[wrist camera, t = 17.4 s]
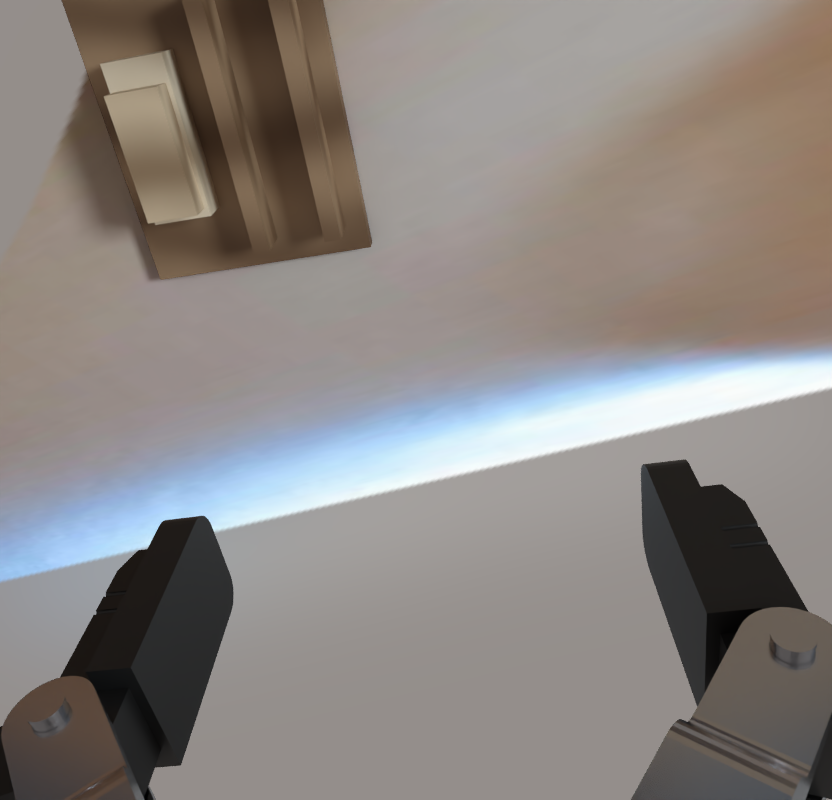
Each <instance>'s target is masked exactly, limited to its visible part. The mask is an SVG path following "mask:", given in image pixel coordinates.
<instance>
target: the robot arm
mask: <svg viewBox="0 0 832 800" xmlns="http://www.w3.org/2000/svg"><path fill="white" fill-rule="evenodd" d="M641 492H642V525H643V526H642V527H643V542H644V548H645V554H646V558H647V562H648V566H649V569H650V572H651V575H652V578H653V581H654V584H655V586H656V589H657V592H658V595H659V598H660V601H661V604H662V606H663V609H664V612H665V615H666V618H667V621H668V624H669V627H670V629H671V632H672V635H673V638H674V641H675V644H676V647H677V650H678V652H679V655H680V658H681V661H682V664H683V667H684V670H685V673H686V675H687V678H688V681H689V684H690V687H691V690H692V693H693V695H694V698H695V701H696V704H697V709H696V711H695V712H694V714H693V716H692V718H691V719H690V721H688V722H686V721H684V720H681V719H679V720H677V721H676V722H675V723H674V724H673V726H672V727H671V728H670V730H669V731H668V733H667V735H666V736H665V738H664V740H663V742H662V744H661V746H660V747H659V749H658V751H657V753H656V755H655V757H654V758H653V760H652V762H651V764H650V766H649V768H648V769H647V771H646V773H645V775H644V777H643V779H642V780H641V782H640V784H639V786H638V788H637V790H636V791H635V793H634V795H633V797H632V799H631V800H826V798H829V799H832V625H831V624H830V623H829V622H827V621H826V620H824V619H822V618H821V617H819V616H817V615H815V614H812V613H810V612H808V610H807V609H806V607H805V605H804V603H803V602H802V600H801V598H800V596H799V594H798V593H797V591H796V589H795V588H794V586H793V584H792V582H791V581H790V579H789V577H788V575H787V574H786V572H785V570H784V568H783V567H782V565H781V563H780V562H779V560H778V558H777V556H776V554H775V553H774V551H773V549H772V547H771V546H770V545H768V542H767V539H766V537H765V535H764V533H763V532H762V530H761V528H760V527H758V525H757V521H756V519H755V518H754V516H753V514H752V513H751V511H750V509H749V507H748V506H747V504H746V502H745V501H744V500H742V499H741V498H740V497H738V496H737V495H736V494H734V493H733V492H732V491H730V490H729V489H728V488H726V487H725V486H724V485H712V486H704V487H700V485H699V483H698V481H697V479H696V477H695V475H694V473H693V471H692V469H691V467H690V465H689V463H688V462H687V460H677V461H668V462H660V463H651V464H643V465H642V468H641ZM232 606H233V584H232V579H231V576H230V573H229V570H228V568H227V565H226V563H225V560H224V557H223V555H222V552H221V549H220V547H219V544H218V542H217V539H216V536H215V534H214V531H213V529H212V526H211V524H210V522H209V520H208V519H207V518H206V517H205V516H198V517H189V518H181V519H172V520H165V521H163V522H162V523H161V524H160V526H159V528H158V530H157V532H156V534H155V536H154V538H153V540H152V541H151V543H150V545H149V547H148V549H146V550H138V551H137V552H136V553H135V554H134V555H133V556H132V557H131V558H130V559H129V560H128V561H127V562H126V563H125V564H124V565H123V566H122V567H121V568H120V569H119V570H118V571H117V573H116V575H115V577H114V578H113V580H112V582H111V584H110V586H109V588H108V589H107V592H106V597H103V599H102V601H101V603H100V604H99V606H98V608H97V610H96V612H97V614H96V615H93V618H92V619H91V621H90V623H89V625H88V627H87V628H86V631H85V632H84V634H83V636H82V638H81V640H80V641H79V643H78V645H77V647H76V649H75V651H74V653H73V655H72V656H71V658H70V660H69V662H68V664H67V666H66V667H65V669H64V671H63V673H62V675H61V677H60V678H57V679H54V680H51V681H49V682H47V683H45V684H42V685H41V686H39V687H37V688H36V689H34V690H32V691H31V692H30V693H28V694H27V695H26V696H25V697H23V698H22V699H21V700H20V701H19V702H18V703H17V704H16V705H15V707H14V708H13V709H12V710H11V712H10V713H9V714H8V716H7V718H6V720H5V722H4V724H3V726H1V727H0V800H156V799H155V796H154V794H153V792H152V790H151V789H150V787H149V782H150V779H151V777H152V774H153V771H154V768H155V767H167V766H178V765H181V763H182V760H183V757H184V754H185V751H186V748H187V745H188V742H189V739H190V736H191V733H192V730H193V727H194V723H195V720H196V717H197V714H198V711H199V708H200V705H201V702H202V699H203V696H204V693H205V690H206V687H207V684H208V681H209V678H210V675H211V671H212V669H213V665H214V662H215V659H216V656H217V653H218V650H219V647H220V644H221V641H222V638H223V635H224V632H225V629H226V626H227V623H228V620H229V617H230V614H231V610H232Z"/></svg>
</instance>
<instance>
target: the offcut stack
mask: <svg viewBox="0 0 832 800" xmlns="http://www.w3.org/2000/svg"><path fill="white" fill-rule="evenodd" d="M100 66H101V69H102V72H103V74H104V77H105V80H106V83H107V86H108V89H109V92H110V94H109V95H106V96H104V99H105V102H106V104H107V107H108V110H109V113H110V116H111V119H112V122H113V125H114V127H115V130H116V133H117V136H118V139H119V142H120V145H121V147H122V150H123V153H124V156H125V159H126V162H127V165H128V167H129V170H130V173H131V176H132V179H133V182H134V185H135V187H136V190H137V193H138V196H139V199H140V202H141V205H142V208H143V210H144V213H145V216H146V219H147V222H148V224H149V223H155V225H159V224H165V223H171V222H177V221H183V220H189V219H195V218H201V217H207V216H212V214H213V213H214V212H215V211H216V210H217V209H218V208H219V207H220V206H219V203H218V199H217V196H216V193H215V189H214V186H213V183H212V179H211V176H210V173H209V169H208V166H207V162H206V159H205V156H204V152H203V149H202V146H201V142H200V139H199V136H198V132H197V129H196V126H195V122H194V119H193V116H192V112H191V109H190V106H189V102H188V99H187V95H186V92H185V89H184V85H183V82H182V79H181V75H180V72H179V69H178V65H177V62H176V59H175V55H174V52H173V49H170V50H165V51H160V52H154V53H149V54H144V55H138V56H133V57H128V58H123V59H117V60H113V61H109V62H105V63H102V64H100Z"/></svg>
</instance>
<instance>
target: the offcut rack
mask: <svg viewBox="0 0 832 800" xmlns="http://www.w3.org/2000/svg"><path fill="white" fill-rule="evenodd" d="M62 2H63V6H64V8H65V11H66V14H67V17H68V20H69V22H70V25H71V28H72V31H73V33H74V37H75V39H76V42H77V45H78V48H79V51H80V53H81V56H82V59H83V62H84V65H85V68H86V70H87V73H88V76H89V79H90V82H91V85H92V87H93V90H94V93H95V96H96V99H97V102H98V104H99V107H100V110H101V113H102V116H103V118H104V121H105V124H106V127H107V130H108V133H109V135H110V138H111V141H112V144H113V147H114V150H115V152H116V155H117V158H118V161H119V164H120V166H121V169H122V172H123V175H124V178H125V181H126V183H127V186H128V189H129V192H130V195H131V198H132V200H133V203H134V206H135V209H136V212H137V214H138V217H139V220H140V223H141V226H142V229H143V231H144V234H145V237H146V240H147V243H148V245H149V248H150V251H151V254H152V257H153V260H154V262H155V265H156V268H157V271H158V274H159V277H160V279H161V280H163V279H169V278H175V277H182V276H188V275H195V274H201V273H207V272H214V271H220V270H227V269H233V268H239V267H246V266H252V265H259V264H265V263H272V262H278V261H284V260H291V259H297V258H304V257H310V256H316V255H323V254H329V253H336V252H342V251H348V250H355V249H361V248H368V247H371V244H372V239H371V235H370V230H369V225H368V220H367V215H366V210H365V205H364V200H363V195H362V190H361V185H360V180H359V175H358V171H357V166H356V161H355V156H354V151H353V146H352V141H351V136H350V131H349V126H348V121H347V116H346V112H345V107H344V102H343V97H342V92H341V87H340V82H339V77H338V72H337V67H336V62H335V57H334V52H333V48H332V43H331V38H330V33H329V28H328V23H327V18H326V13H325V8H324V3H323V0H62ZM170 49H173V52H174V55H175V59H176V62H177V65H178V69H179V72H180V75H181V79H182V82H183V85H184V89H185V92H186V95H187V99H188V102H189V106H190V109H191V112H192V116H193V119H194V122H195V126H196V129H197V132H198V136H199V139H200V142H201V146H202V149H203V152H204V156H205V159H206V162H207V166H208V169H209V173H210V176H211V179H212V183H213V186H214V189H215V193H216V196H217V199H218V203H219V206H220V207H219V208H218V209H217V210H216V211H215V212H214V213H213V214H212V216H207V217H201V218H195V219H189V220H183V221H177V222H171V223H165V224H159V225H155V223H149V224H148V222H147V219H146V216H145V213H144V210H143V208H142V205H141V202H140V199H139V196H138V193H137V190H136V187H135V185H134V182H133V179H132V176H131V173H130V170H129V167H128V165H127V162H126V159H125V156H124V153H123V150H122V147H121V145H120V142H119V139H118V136H117V133H116V130H115V127H114V125H113V122H112V119H111V116H110V113H109V110H108V107H107V104H106V102H105V99H104V96H106V95H109V94H110V92H109V89H108V86H107V83H106V80H105V77H104V74H103V72H102V69H101V66H100V64H102V63H105V62H109V61H113V60H117V59H123V58H128V57H133V56H138V55H144V54H149V53H154V52H160V51H165V50H170Z"/></svg>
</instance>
